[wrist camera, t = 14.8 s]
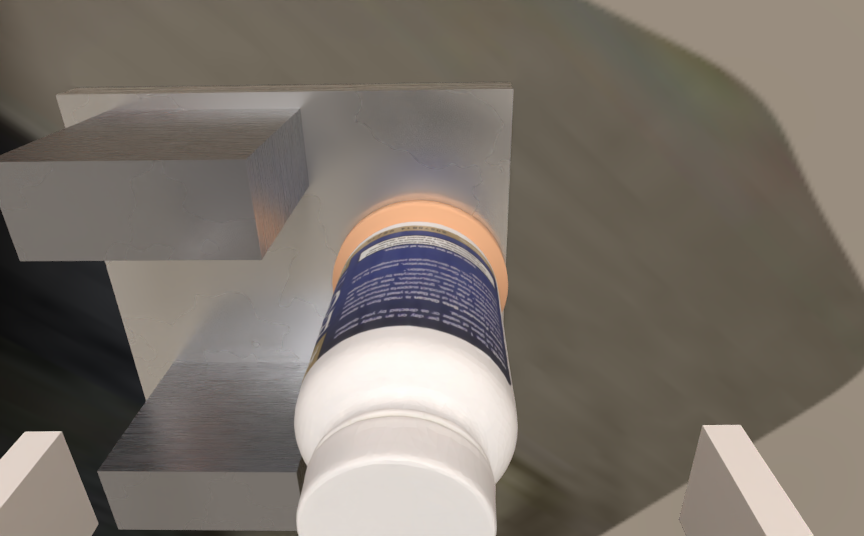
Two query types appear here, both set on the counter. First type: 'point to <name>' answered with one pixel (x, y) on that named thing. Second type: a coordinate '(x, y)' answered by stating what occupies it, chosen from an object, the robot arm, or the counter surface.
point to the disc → (432, 214)
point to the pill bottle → (407, 392)
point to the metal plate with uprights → (237, 256)
